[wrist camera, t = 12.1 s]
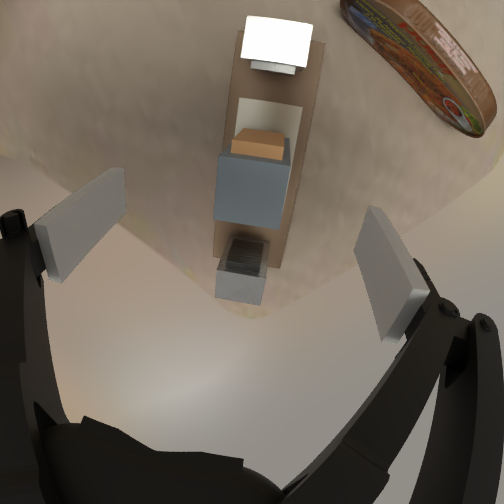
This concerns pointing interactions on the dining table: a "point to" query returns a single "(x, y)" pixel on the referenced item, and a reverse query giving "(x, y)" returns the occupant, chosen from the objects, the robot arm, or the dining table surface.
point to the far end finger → (242, 270)
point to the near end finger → (276, 45)
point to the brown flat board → (274, 120)
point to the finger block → (253, 179)
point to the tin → (426, 60)
